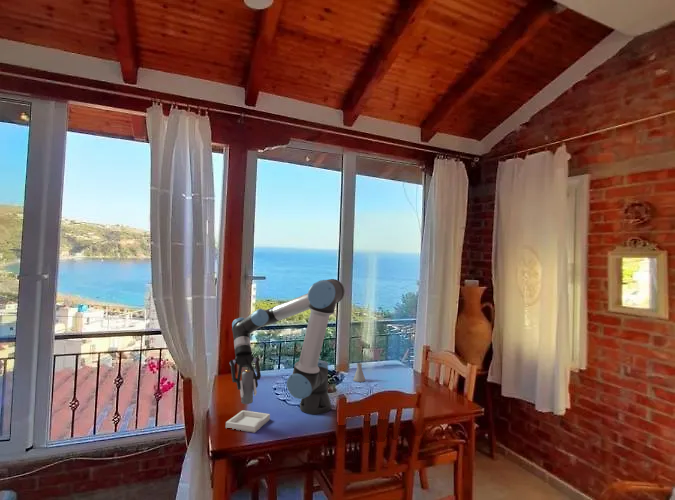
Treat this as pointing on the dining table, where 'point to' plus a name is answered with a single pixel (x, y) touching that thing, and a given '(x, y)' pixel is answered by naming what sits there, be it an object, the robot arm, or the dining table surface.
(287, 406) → the dining table surface
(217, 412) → the dining table surface
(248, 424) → the tray
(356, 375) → the flask
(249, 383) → the charcoal cell
